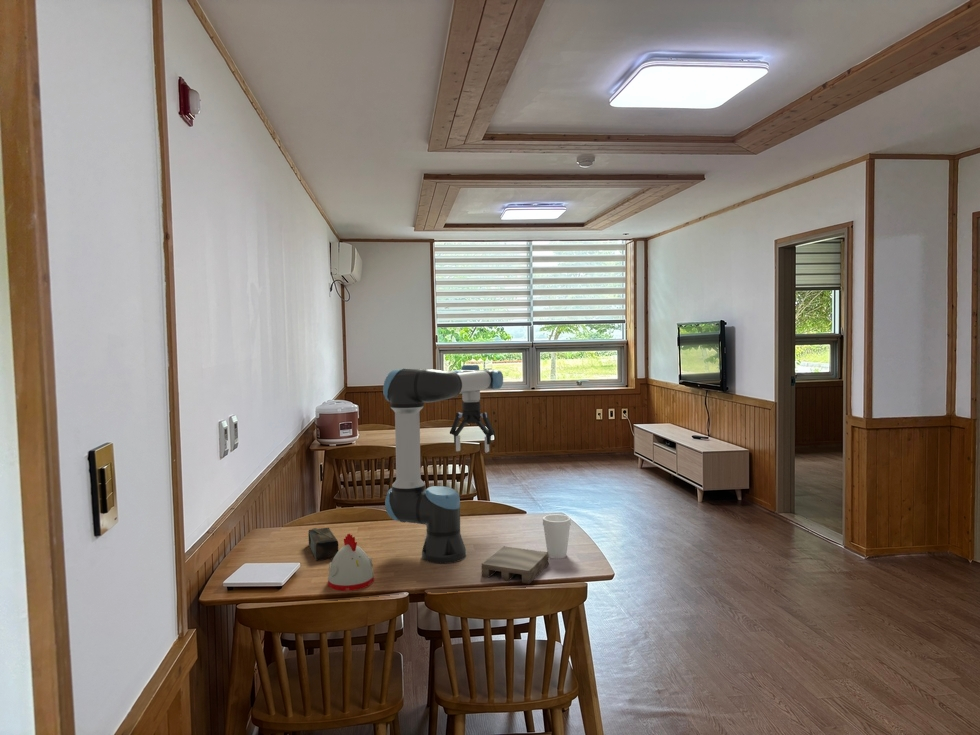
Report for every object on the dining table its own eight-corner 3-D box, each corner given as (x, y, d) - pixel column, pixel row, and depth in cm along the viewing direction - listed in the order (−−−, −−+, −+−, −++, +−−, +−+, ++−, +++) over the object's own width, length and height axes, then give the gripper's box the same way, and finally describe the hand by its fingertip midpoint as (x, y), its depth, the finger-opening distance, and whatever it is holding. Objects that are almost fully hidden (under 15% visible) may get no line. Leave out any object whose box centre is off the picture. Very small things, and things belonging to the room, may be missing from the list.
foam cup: (576, 556, 215) (576, 518, 215) (556, 562, 210) (556, 523, 209) (557, 549, 223) (557, 512, 222) (537, 554, 217) (537, 517, 217)
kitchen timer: (338, 594, 186) (337, 544, 185) (321, 580, 197) (319, 533, 197) (381, 583, 194) (380, 535, 194) (362, 570, 205) (361, 525, 205)
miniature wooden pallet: (529, 583, 192) (529, 570, 191) (481, 576, 198) (481, 563, 198) (548, 564, 208) (548, 552, 208) (504, 557, 215) (503, 546, 214)
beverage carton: (330, 542, 235) (329, 525, 235) (339, 558, 218) (339, 539, 217) (308, 545, 232) (307, 527, 232) (315, 562, 215) (315, 543, 214)
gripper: (501, 400, 264) (503, 451, 264) (449, 400, 274) (450, 449, 274) (494, 402, 257) (495, 453, 257) (441, 401, 267) (442, 451, 267)
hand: (472, 451), depth 265 cm, fingers open, 13 cm apart
